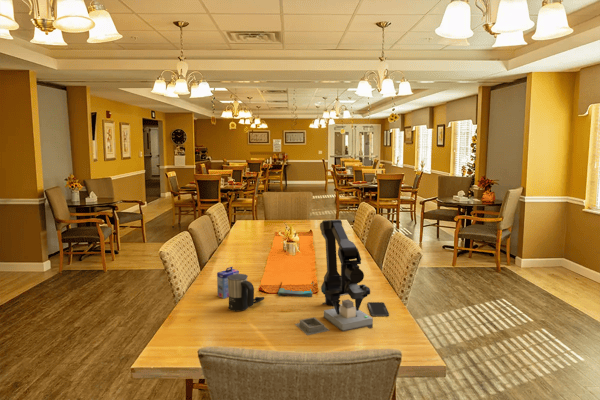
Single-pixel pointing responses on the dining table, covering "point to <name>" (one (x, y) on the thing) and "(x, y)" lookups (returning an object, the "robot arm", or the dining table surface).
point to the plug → (347, 309)
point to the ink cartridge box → (224, 282)
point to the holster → (311, 326)
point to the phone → (378, 309)
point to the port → (348, 320)
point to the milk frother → (241, 293)
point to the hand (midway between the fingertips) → (347, 312)
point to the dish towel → (294, 293)
